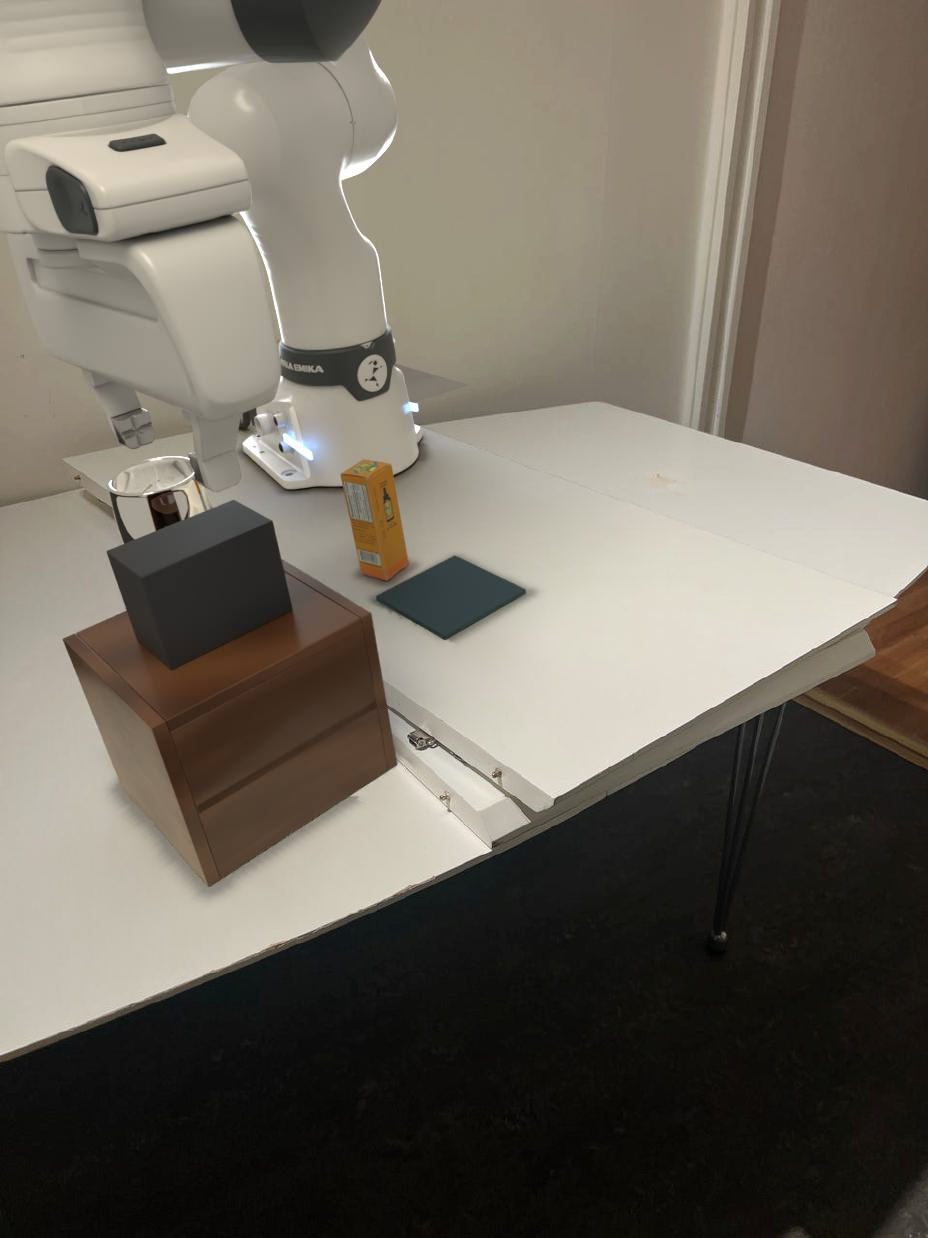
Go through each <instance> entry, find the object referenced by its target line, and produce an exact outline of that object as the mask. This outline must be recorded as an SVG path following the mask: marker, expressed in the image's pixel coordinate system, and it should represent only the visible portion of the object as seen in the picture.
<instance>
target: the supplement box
mask: <svg viewBox="0 0 928 1238" xmlns="http://www.w3.org/2000/svg"><path fill="white" fill-rule="evenodd" d="M340 476H341V480H342V485H343V486H342V490H343V494H344V499H345V504H346V509H347V513H348V518H349V522H350V528H351V532H352V537H353V541H354V547H355V551H356V555H357V560H358V564H359V569H360V573H361V575H365V576H367V577H371V578H374V579H378V580H382V581H389V580H391V579H392V578H393V577H394V576H395V575H396V574H398V573H399V572H400V571H401V570H402V569H404V568H406V567H407V566H408V565H409V557H408V552H407V545H406V539H405V534H404V529H403V524H402V522H403V521H402V516H401V509H400V504H399V499H398V493H397V487H396V483H395V477H394V475H393V470H392V465H391V464H390V463H384V462H379V461H373V460H365V459H363V460H361V461H360V462H358V463H357V464H355V465H354V466H352V467H350V468H349V469H347V470H346V471H344V472H342V473H341V474H340Z"/></svg>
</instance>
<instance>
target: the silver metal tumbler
mask: <svg viewBox="0 0 928 1238" xmlns="http://www.w3.org/2000/svg"><path fill="white" fill-rule="evenodd" d="M106 489H107V492H108V495H109V500H110V504H111V508H112V512H113V517H114V520H115V521H114V522H115V525H116V528H117V532H118V535H119V538H120V541H121V543H122V544H121V545H123V544H125V543H128V542H130V541H132V540H135V539H137V538H140V537H142V536H145V535H147V534H150V533H152V532H155V531H157V530H160V529H162V528H165V527H167V526H170V525H172V524H175V523H177V522H180V521H182V520H184V519H187V518H189V517H192V516H194V515H197V514H199V513H202V512H204V511H207V510H209V509H212V508H214V507H213V504H212V500H211V498H210V493H209V492H208V489H207V488H206V487H204V486H202V485H200V484H198V482H197V481H196V480H195V477H194V470H193V469H192V467H191V463H190V460H189V457H185V456H177V455H176V456H172V455H171V456H160V457H153V458H148V459H144V460H140V461H137V462H133V463H131V464H129V465H127V466H125V467H123V468H120V469H119V470H117V471H115V472H114V473H113V474H112V475H111V476H109V478H108V479H107V481H106Z"/></svg>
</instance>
